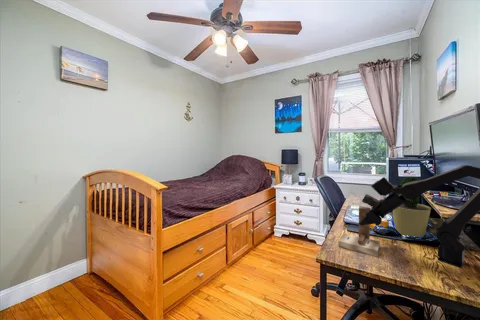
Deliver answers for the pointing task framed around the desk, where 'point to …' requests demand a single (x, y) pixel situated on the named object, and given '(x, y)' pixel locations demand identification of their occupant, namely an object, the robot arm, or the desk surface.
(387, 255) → the desk surface
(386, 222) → the pipe clamp
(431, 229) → the eagle figurine
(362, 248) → the pine board
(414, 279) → the desk surface
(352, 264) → the desk surface
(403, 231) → the potted cactus
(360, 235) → the tan upright block
